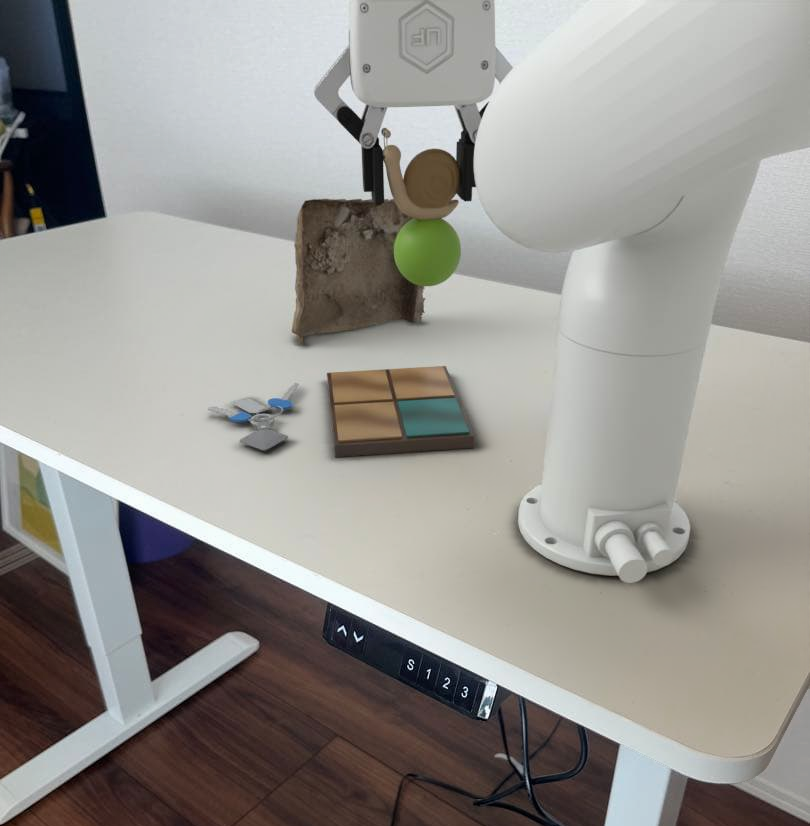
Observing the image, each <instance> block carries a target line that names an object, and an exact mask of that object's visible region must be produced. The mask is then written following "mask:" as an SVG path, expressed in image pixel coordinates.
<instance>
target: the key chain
mask: <svg viewBox="0 0 810 826" xmlns="http://www.w3.org/2000/svg"><path fill="white" fill-rule="evenodd" d="M298 387H299V383H297V382H294V383H293V384H292V385H291V386H290V387H289V388H288V390H287V391H286V392H285V393H284V394H283V396H282V397H281V398H279V397H273V398H269V399H268V400H267V404H268V406H265V405H263V404H261V403H259V402H257V401H255V400H253V399H252V398H244V399H240V400H235V401H231V402H230V404H232V405H234V406H236V407H238V408H240V409H241V410H243V411H232V410H229V409H227V408H225V409H224V408H220V407H219V406H208V408H207V411H209V412H212V413H213V412H214V413H216V414H221V415H223V416H227V417H228V420H230V421H232V422H236V423H243V422H250V424H251V425H253V426H254V427H257V428H256V429H257V430H255V431H253V432H252V433H250V434H248V435H246V436H244V437H242V438H240V439H239V443H241V444H244V445H246V446H249V447H251V448H255V449H257V450H259V451H262V452H264V451H268V450H269V449H271V448H273V447H275V446H277V445H278V444H280V443H282V442H284V441H286V440H288V439H289V435H287V434H284V433H281V432H278V431H277V430H273V429H270V425H273V423H274V422H275V420H276V419H275V418H276V417H277V416H280V415H281V414H282V413H283V411H284V410H288V409H292V408H293V405H294V403H293V402H292V401H291V400H289V399H290V398H291V396H292V395H293V394H294V393H295V391H296V389H297V388H298ZM271 408H274V409H277V410H280V412H278V413H276V414H275V415H272V414H269V413H262V412H266V411H269V409H271ZM245 411H246V412H245ZM251 414H255V415H253V416H252V417H251ZM269 419H270V420H269ZM255 420H267V421H258V422H256V421H255Z"/></svg>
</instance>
